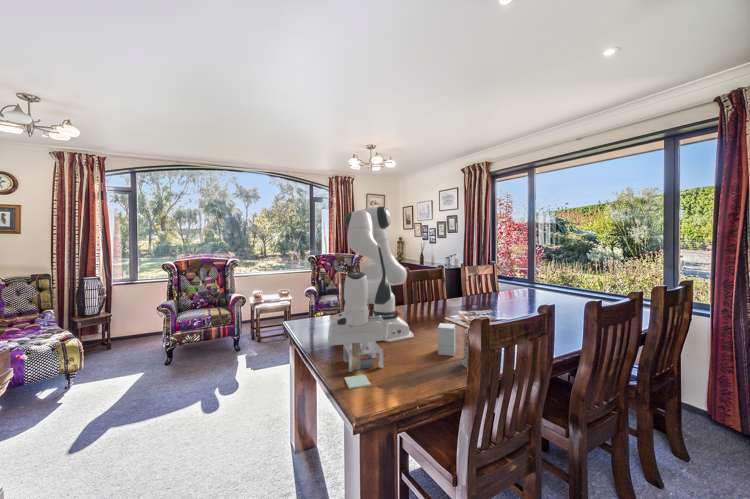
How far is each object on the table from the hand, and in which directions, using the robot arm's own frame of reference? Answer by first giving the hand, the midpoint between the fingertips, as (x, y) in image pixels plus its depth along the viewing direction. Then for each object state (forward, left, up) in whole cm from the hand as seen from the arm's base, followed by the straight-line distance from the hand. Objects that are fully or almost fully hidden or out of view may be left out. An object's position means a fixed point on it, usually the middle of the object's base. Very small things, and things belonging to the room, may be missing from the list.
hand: (356, 354), depth 116 cm
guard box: (-6, -15, -11) cm, 19 cm away
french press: (-50, -2, -11) cm, 52 cm away
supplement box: (-46, -16, -11) cm, 50 cm away
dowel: (0, 0, -5) cm, 5 cm away
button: (-6, -14, -10) cm, 18 cm away
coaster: (0, 0, -11) cm, 11 cm away
